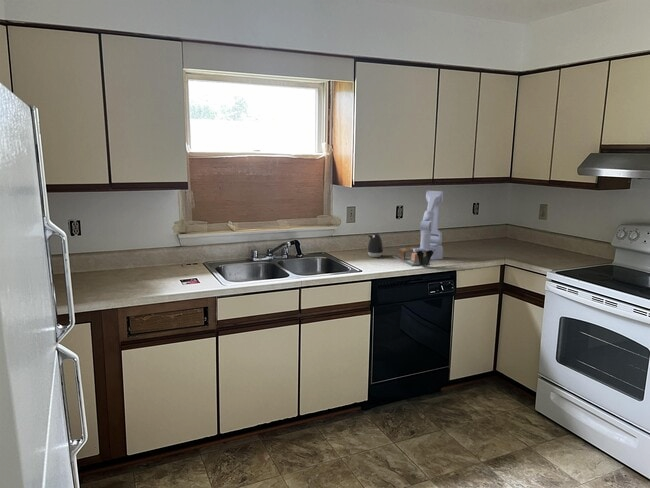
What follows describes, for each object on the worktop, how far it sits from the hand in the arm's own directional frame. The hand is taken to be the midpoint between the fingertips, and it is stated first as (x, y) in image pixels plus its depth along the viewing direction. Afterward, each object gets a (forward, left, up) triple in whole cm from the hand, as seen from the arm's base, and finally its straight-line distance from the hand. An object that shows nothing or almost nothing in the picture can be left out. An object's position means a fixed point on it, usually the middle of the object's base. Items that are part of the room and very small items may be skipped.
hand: (424, 263), depth 293 cm
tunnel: (0, -18, -2) cm, 19 cm away
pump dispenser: (+17, -32, -2) cm, 37 cm away
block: (0, -10, 0) cm, 10 cm away
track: (0, -16, -2) cm, 16 cm away
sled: (0, -6, -1) cm, 6 cm away
